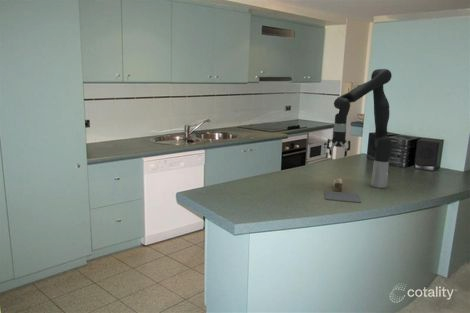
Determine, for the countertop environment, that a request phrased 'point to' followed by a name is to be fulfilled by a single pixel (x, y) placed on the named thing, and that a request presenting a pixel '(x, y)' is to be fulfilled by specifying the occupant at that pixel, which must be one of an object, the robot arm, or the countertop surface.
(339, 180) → the maple bar
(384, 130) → the robot arm
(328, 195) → the mat
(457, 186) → the countertop surface
